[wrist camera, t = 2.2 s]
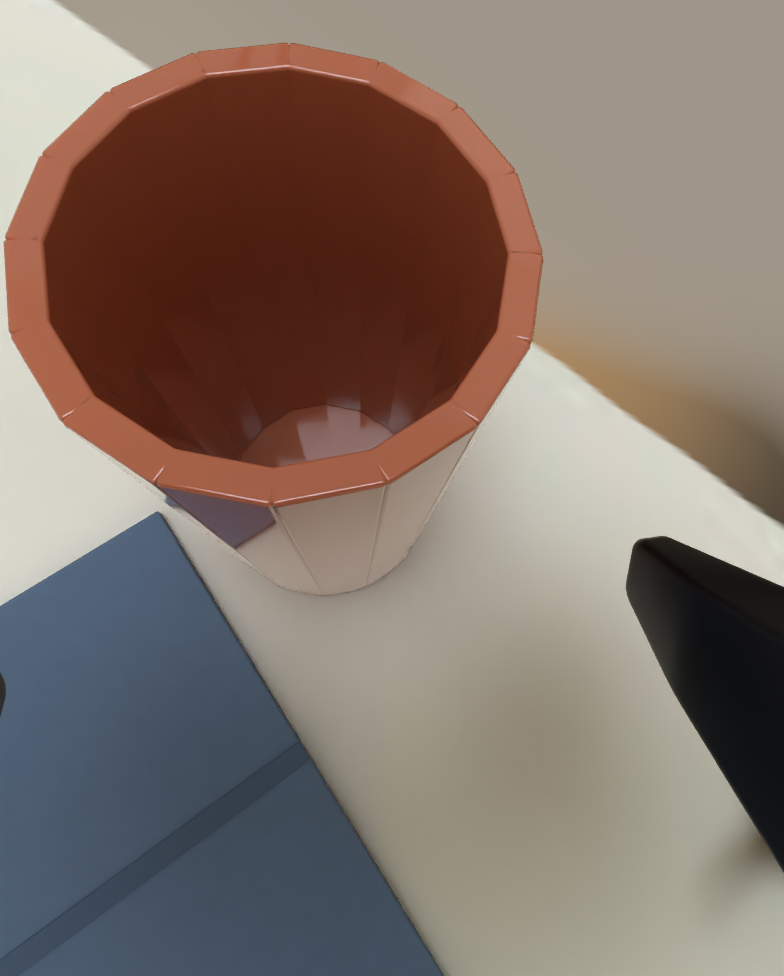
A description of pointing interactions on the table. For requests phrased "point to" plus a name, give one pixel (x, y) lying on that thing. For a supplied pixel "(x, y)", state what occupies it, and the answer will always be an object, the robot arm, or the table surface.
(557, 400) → the table surface
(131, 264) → the pencil cup
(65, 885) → the napkin
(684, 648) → the robot arm
